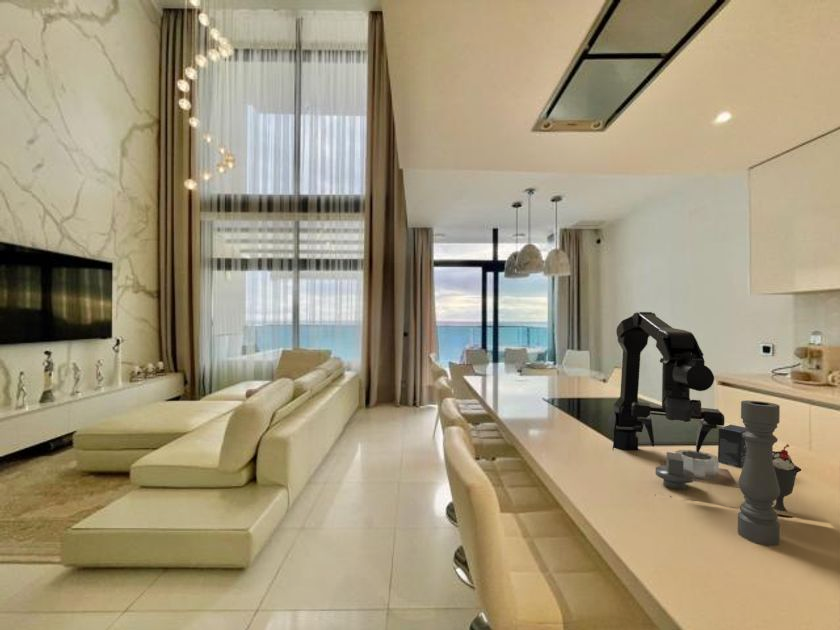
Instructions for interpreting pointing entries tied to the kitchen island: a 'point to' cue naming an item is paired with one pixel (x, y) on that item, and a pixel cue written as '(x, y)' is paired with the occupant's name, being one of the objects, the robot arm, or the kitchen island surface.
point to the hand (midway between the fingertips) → (674, 448)
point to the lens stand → (723, 478)
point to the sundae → (784, 477)
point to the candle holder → (759, 474)
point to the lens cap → (674, 472)
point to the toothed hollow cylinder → (700, 464)
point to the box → (732, 446)
